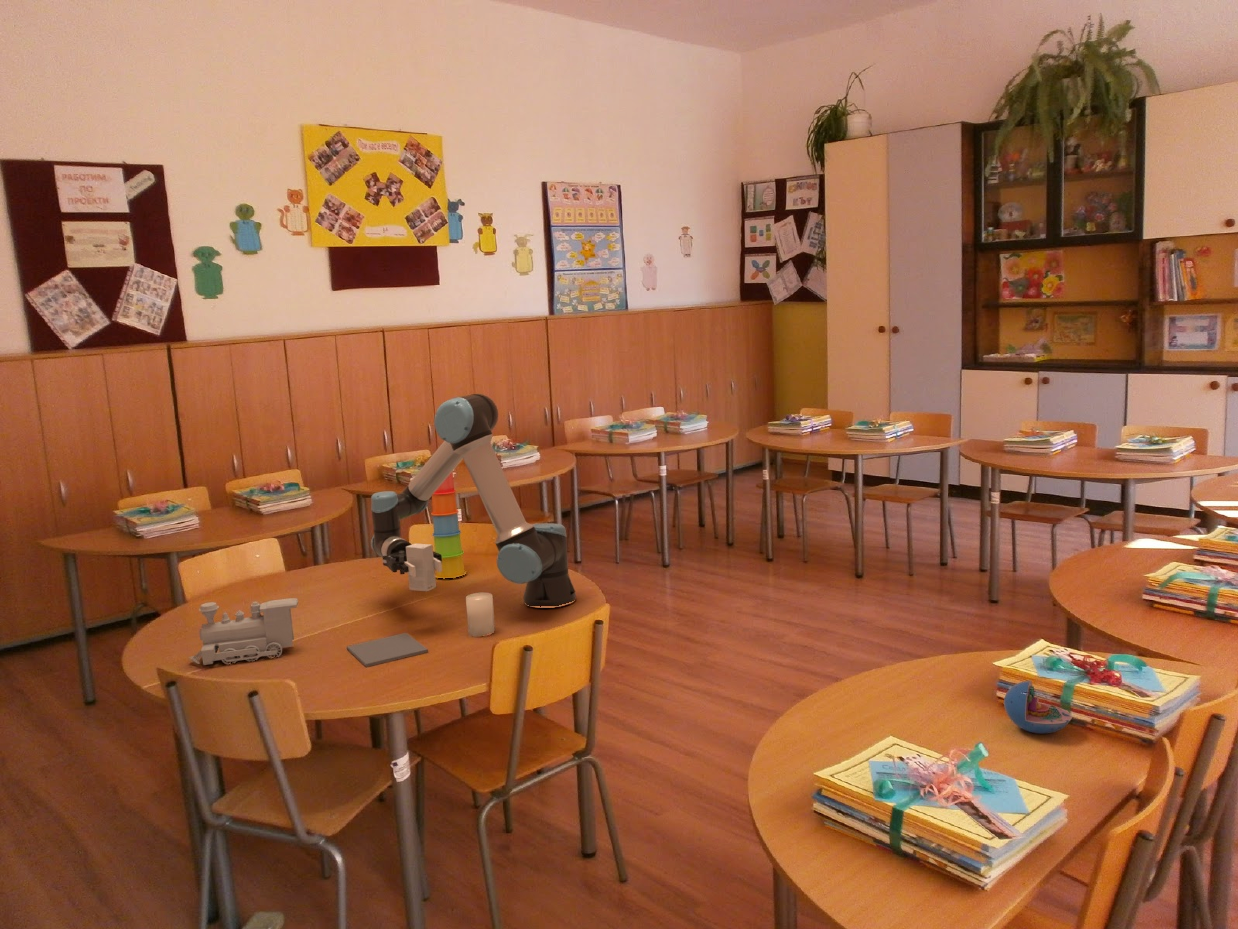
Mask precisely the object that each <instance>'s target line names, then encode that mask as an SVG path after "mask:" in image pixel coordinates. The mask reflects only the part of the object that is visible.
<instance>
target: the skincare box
mask: <svg viewBox="0 0 1238 929" xmlns="http://www.w3.org/2000/svg"><path fill="white" fill-rule="evenodd" d="M411 544H412V545H409V546H407V547H406V555H407V562H409V563H410V564H412V565H413V566H415V570H416V577H412V576H411V575H409V574H408V573H407V575H408V577H407V578H408V586H409V588H408V589H409V590H410V591H418V592H419V591H420V592H429V591H431V590H433V589H435V588H436V587H437V581H436V580H437V579H436V577H435V574H436V571H435V569H434V557H433V551H434V549H433V548H434V547H433V544H429V543H428V544H427V543H411Z"/></svg>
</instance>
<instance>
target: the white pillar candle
mask: <svg viewBox="0 0 1238 929" xmlns="http://www.w3.org/2000/svg"><path fill="white" fill-rule="evenodd" d="M493 597H494V596H493V594H492V593H490V592H474V593H471V594H470V593H469V594H467V596H465V605H466V616H467V617H466V618H467V631H468V632H467V633H468V636H470V637H472V636H473V638H478V637H477V636H483V635H487V634H489V633H493V632H494V631H495V632H496V627H495V626H496V624H495V614H494V612H495V611H494V598H493Z"/></svg>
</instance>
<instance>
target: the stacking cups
mask: <svg viewBox="0 0 1238 929" xmlns="http://www.w3.org/2000/svg"><path fill="white" fill-rule="evenodd" d="M453 472H454V471H452V472H451V474H450V475H449V476H448V477H447V478H446V480H445V481H444V482H443V483H442V484H441V485H440V487H439V488H438V489H437V490H436V491H435V492H434V494H433V495H432V496H431V504H432V512H431V513H430V514H431V516H432V523H433V524H432V525H433V533H432V536H433V541H434V542H433V543H434V552H436V553H439V554H441V556H442V572H439V571H437V570H436V571H435V572H436V573H435V579H438V578H443V579H442V580H446V579H445V578H453V579H457V578H456V577H459V576H462V575H464V576H465V574H466V572H467V570H465V565H464V553H465V552H464V550H462V541H461V540H462V538H461V534H462V531H461V530H460V527H459V517H458V515H459V514H458V513H459V510H458V508H457V500H456V499H457V498H456V492H457V490H456V489H455V482H454V481H455V480H454V473H453ZM464 571H465V574H464ZM436 575H437V576H436ZM466 575H467V574H466ZM462 577H463V576H462ZM459 578H460V577H459Z"/></svg>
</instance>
